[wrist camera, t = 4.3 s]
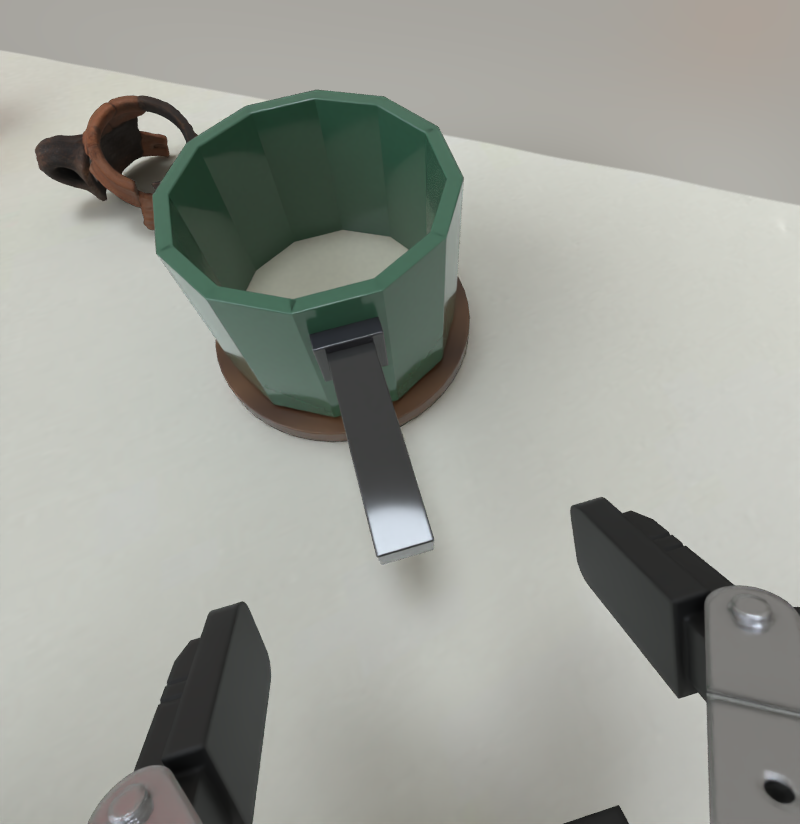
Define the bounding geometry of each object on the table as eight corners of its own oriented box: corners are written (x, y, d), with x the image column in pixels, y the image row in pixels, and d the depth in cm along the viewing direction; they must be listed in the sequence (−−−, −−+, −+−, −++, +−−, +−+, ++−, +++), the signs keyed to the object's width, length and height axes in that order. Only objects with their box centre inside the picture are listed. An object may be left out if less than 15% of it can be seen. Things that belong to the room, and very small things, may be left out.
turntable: (511, 386, 31) (514, 377, 30) (252, 481, 29) (245, 475, 28) (414, 209, 38) (413, 196, 37) (201, 277, 37) (194, 266, 35)
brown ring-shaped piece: (201, 142, 44) (194, 77, 36) (224, 245, 44) (222, 202, 36) (46, 147, 40) (1, 75, 32) (72, 260, 40) (33, 215, 32)
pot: (219, 261, 35) (146, 127, 26) (415, 212, 36) (409, 67, 27) (272, 619, 24) (180, 602, 15) (548, 537, 25) (612, 475, 16)
